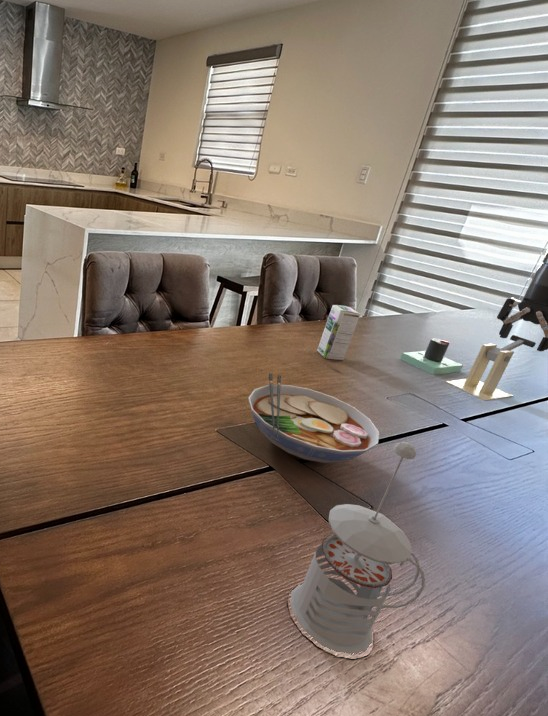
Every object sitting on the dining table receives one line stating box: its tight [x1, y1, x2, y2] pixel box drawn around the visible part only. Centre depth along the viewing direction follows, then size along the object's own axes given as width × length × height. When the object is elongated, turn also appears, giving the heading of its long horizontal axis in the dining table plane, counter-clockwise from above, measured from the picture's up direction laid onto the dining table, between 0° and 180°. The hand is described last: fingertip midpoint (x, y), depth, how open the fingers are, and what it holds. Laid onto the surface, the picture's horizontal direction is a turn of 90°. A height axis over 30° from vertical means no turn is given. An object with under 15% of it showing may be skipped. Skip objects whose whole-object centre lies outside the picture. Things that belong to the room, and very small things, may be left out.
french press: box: [290, 441, 426, 655], centre depth 51 cm, size 10×12×25 cm
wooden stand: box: [444, 343, 515, 402], centre depth 121 cm, size 12×10×13 cm
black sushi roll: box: [424, 337, 451, 362], centre depth 134 cm, size 4×4×6 cm
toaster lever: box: [486, 334, 537, 363], centre depth 121 cm, size 12×5×2 cm, turn 111°
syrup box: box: [316, 304, 361, 361], centre depth 133 cm, size 6×6×14 cm
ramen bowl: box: [248, 372, 380, 464], centre depth 88 cm, size 25×23×8 cm
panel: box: [400, 350, 464, 376], centre depth 135 cm, size 12×10×3 cm
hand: (521, 344), depth 122 cm, fingers open, 8 cm apart
